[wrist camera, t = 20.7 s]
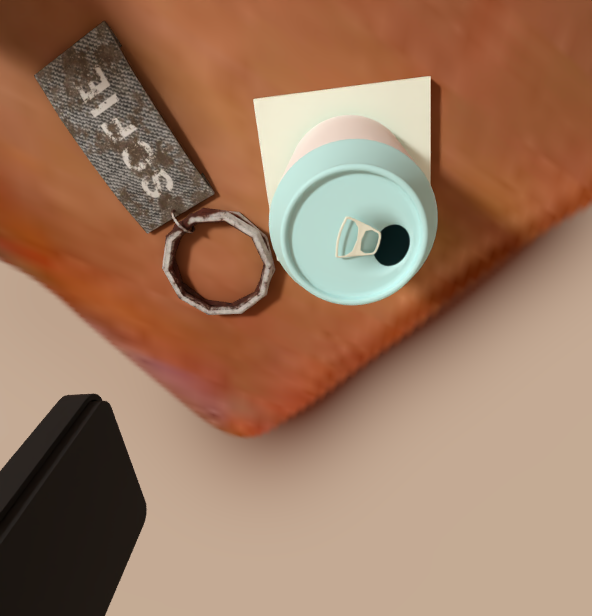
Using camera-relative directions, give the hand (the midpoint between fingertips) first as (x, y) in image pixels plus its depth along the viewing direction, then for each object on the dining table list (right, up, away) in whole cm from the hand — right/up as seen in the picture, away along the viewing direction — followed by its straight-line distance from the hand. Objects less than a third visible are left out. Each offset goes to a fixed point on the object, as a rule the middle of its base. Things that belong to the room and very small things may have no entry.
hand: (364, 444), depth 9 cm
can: (+2, +11, +21) cm, 24 cm away
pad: (+2, +11, +22) cm, 24 cm away
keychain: (-9, +11, +23) cm, 27 cm away
